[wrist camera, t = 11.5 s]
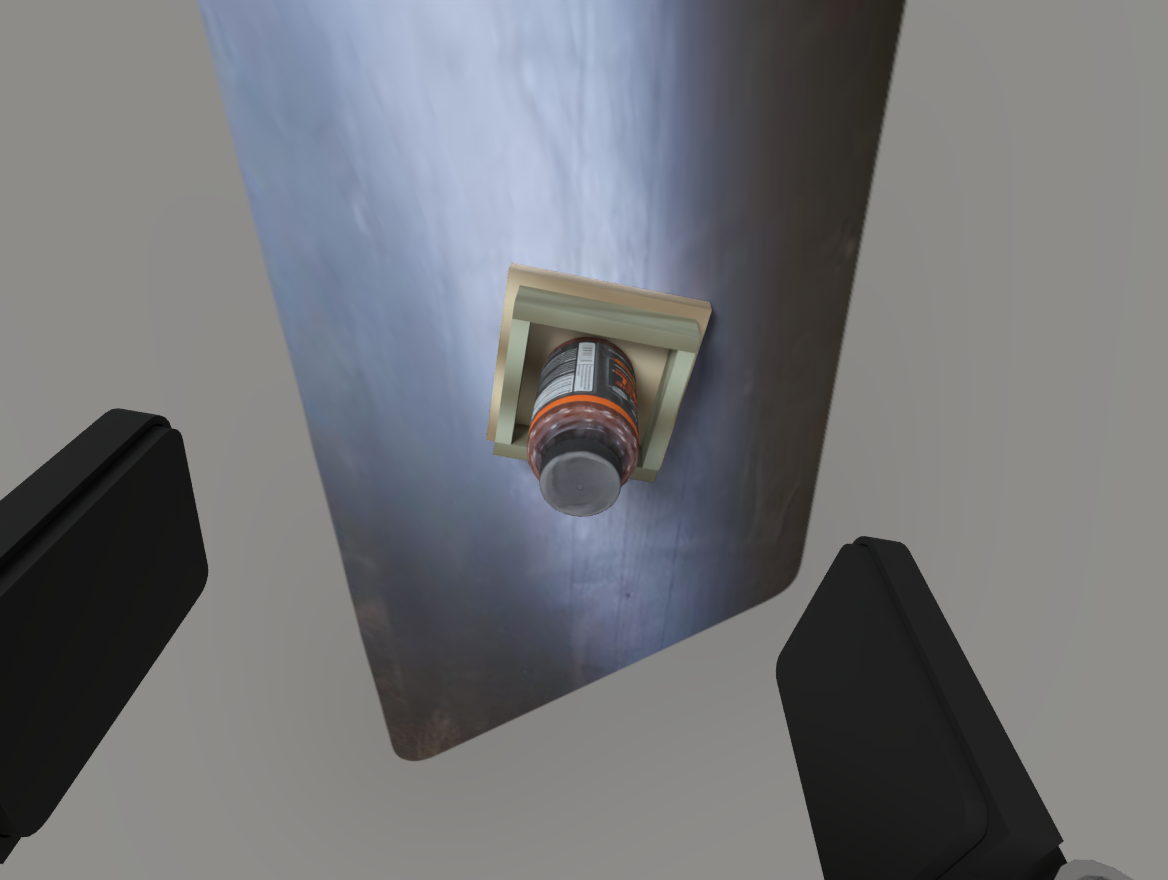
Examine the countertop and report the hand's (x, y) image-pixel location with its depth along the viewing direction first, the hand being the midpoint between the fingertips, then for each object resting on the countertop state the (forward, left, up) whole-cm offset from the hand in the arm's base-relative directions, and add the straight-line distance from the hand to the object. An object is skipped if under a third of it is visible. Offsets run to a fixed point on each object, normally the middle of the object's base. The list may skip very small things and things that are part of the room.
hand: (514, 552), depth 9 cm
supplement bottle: (+13, +3, -29) cm, 32 cm away
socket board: (+13, +3, -30) cm, 33 cm away
